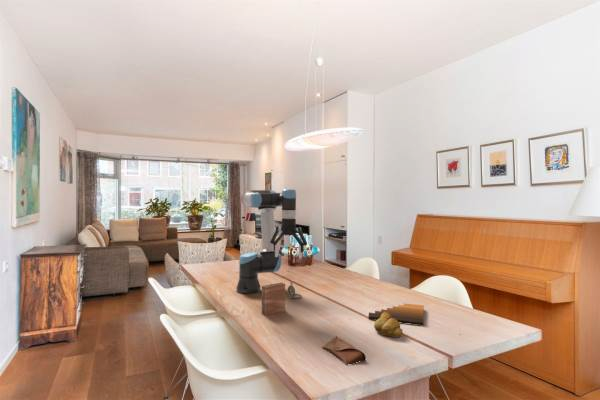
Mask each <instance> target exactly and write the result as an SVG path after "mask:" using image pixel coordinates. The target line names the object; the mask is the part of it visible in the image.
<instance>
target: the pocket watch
mask: <svg viewBox="0 0 600 400" xmlns="http://www.w3.org/2000/svg"><path fill="white" fill-rule="evenodd" d="M289 283H290V285H289V286H287V294H288V296H289V297H291V298H292V299H301V298H302V294H300V293H299V294H298V293H297V294H296V289H295V287H294V285H293V283H294V282H292V281H289Z"/></svg>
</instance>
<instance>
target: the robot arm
mask: <svg viewBox="0 0 600 400" xmlns="http://www.w3.org/2000/svg"><path fill="white" fill-rule="evenodd" d="M240 200H241V203H242V204H243V205H244V206H245V207H249V208H254V209H255V208H257V210H258V212H259V213H260V226H261V227H260V228H261V246H262V248H261V251H259V252H260V253H258V252H256V251H255V252H248V253H243V254H241V255H240V256H239V260H238V264H239V265H238V267H239V268H238V270H239V272H238V276H239V278H238V281H237V283H236V293H239V294H255V293H258V292H260V291H261V284H260V280H259V278H258V277H259V274H267V273H269V274H271V273H277V272H279V271H280V269H281V267H282V255H281V254H280V252H279V244H278V243H279V242H280V241H281V240H282V238H283V237H284V236H290V237H291V236H292V237H293V238H294V239H295V240H296V241H297V243H298V244H299V246H298V259H303V253H304V252H305V251H304V250H305V246H307V245H308V242H307V239H306V237H305V235H304V233H303V231H302V227H300V226H299V227H297V223H296V220H297V218H296V217H297V216H296V215H297V208H296V207H297V192H296V189H292V188H291V189H286V188H285V189H282V190H281V192H276V191H275V190H270V189H252V190H247V191H245V192H243V193H242V194H241V199H240ZM278 207H281V218H282V219H281V226H276V227H275V215H274V214H275V213H274V212H275V211H276V209H277V208H278ZM280 231H281V233H280ZM296 231H297V233H298V234H299V235H298V234H297V233H296ZM279 233H280V234H279ZM278 235H279V236H278Z"/></svg>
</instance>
